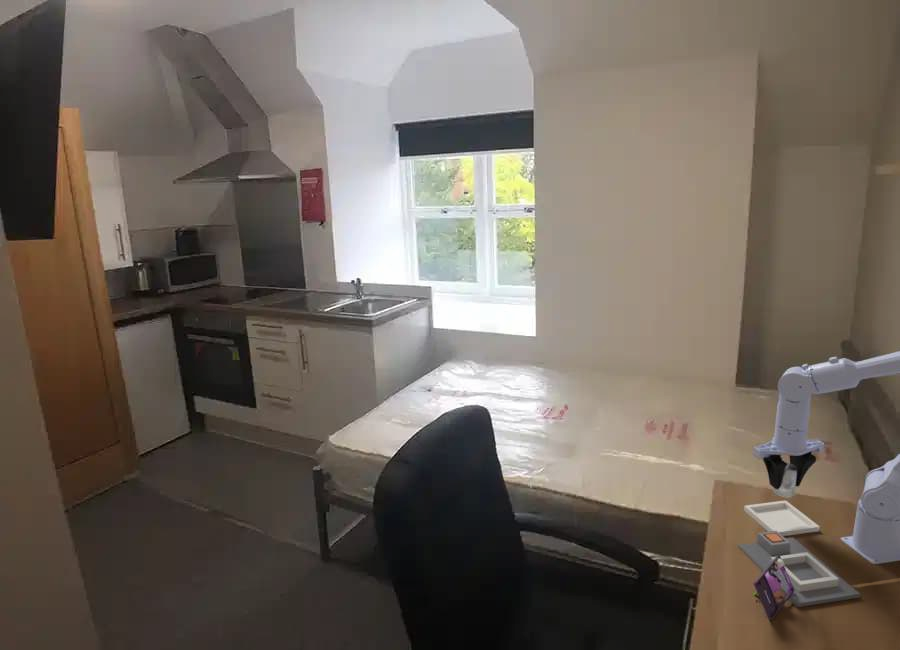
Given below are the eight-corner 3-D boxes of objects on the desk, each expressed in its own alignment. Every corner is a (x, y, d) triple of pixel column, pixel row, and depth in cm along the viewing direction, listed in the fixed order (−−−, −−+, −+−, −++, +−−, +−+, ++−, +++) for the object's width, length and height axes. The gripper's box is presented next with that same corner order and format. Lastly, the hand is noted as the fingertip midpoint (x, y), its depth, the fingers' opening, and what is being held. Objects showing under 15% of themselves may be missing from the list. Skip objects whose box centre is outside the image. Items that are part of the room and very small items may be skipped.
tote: (784, 505, 129) (785, 500, 128) (818, 532, 119) (819, 526, 119) (743, 511, 127) (744, 505, 127) (774, 538, 118) (775, 532, 117)
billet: (785, 486, 124) (788, 461, 122) (799, 496, 120) (802, 470, 118) (768, 488, 123) (771, 463, 122) (781, 498, 119) (784, 472, 118)
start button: (774, 541, 115) (775, 533, 115) (782, 548, 113) (783, 540, 112) (764, 542, 115) (765, 534, 114) (771, 549, 113) (772, 541, 112)
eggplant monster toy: (759, 584, 96) (783, 555, 101) (731, 579, 101) (755, 552, 106) (775, 621, 96) (798, 591, 101) (746, 615, 101) (770, 587, 106)
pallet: (792, 540, 117) (794, 527, 116) (859, 597, 101) (861, 583, 100) (737, 548, 115) (739, 535, 115) (797, 607, 100) (798, 592, 99)
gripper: (809, 414, 122) (802, 471, 126) (746, 421, 120) (740, 479, 124) (835, 428, 116) (827, 488, 119) (769, 435, 114) (762, 497, 117)
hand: (784, 485), depth 121 cm, fingers closed on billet, 4 cm apart
